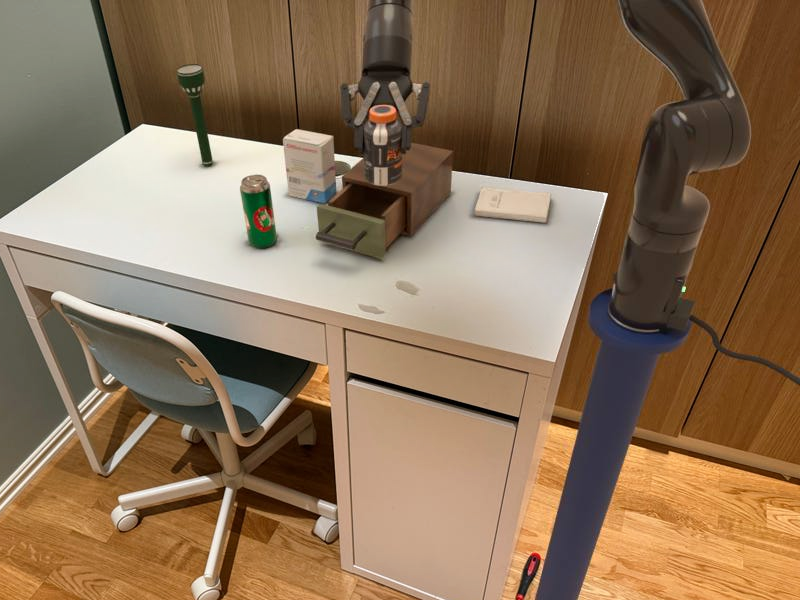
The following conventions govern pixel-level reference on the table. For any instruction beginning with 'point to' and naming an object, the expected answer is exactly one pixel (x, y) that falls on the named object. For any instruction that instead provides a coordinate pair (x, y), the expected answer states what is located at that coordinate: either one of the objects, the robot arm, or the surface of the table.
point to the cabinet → (415, 182)
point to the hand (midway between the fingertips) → (381, 152)
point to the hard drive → (513, 205)
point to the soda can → (258, 211)
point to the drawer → (362, 219)
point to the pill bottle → (382, 146)
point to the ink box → (310, 165)
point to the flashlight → (196, 105)
